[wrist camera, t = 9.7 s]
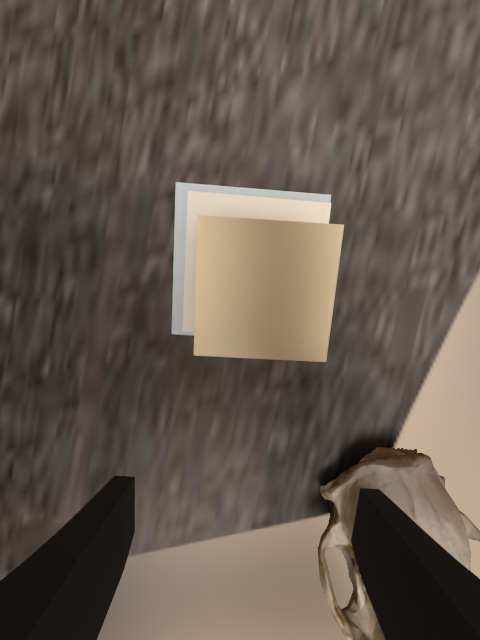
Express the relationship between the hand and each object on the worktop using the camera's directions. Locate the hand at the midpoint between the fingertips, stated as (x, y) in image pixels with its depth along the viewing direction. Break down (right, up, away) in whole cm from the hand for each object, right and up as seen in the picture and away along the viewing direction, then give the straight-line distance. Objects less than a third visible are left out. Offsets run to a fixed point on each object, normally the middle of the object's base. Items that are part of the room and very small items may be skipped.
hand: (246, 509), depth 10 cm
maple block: (+1, +8, +5) cm, 9 cm away
